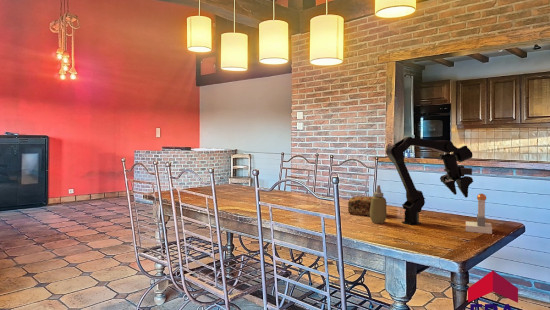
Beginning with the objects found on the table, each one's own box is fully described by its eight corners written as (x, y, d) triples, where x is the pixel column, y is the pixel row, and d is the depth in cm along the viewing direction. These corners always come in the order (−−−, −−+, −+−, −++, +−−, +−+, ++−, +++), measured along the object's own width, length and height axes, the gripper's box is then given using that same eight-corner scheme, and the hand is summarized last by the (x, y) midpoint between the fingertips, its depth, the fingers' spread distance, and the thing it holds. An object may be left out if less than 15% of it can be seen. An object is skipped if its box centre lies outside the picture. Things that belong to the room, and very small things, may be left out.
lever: (476, 224, 163) (477, 194, 163) (476, 222, 168) (477, 192, 167) (485, 225, 161) (486, 194, 161) (485, 223, 166) (486, 193, 165)
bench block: (465, 231, 163) (466, 216, 163) (465, 226, 172) (466, 212, 172) (491, 233, 158) (492, 218, 158) (490, 229, 167) (490, 214, 167)
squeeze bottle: (377, 224, 175) (378, 186, 174) (365, 221, 182) (366, 185, 181) (390, 223, 178) (390, 185, 178) (378, 219, 186) (378, 184, 185)
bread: (386, 214, 200) (387, 196, 199) (381, 218, 190) (382, 198, 190) (353, 211, 209) (353, 193, 209) (347, 214, 200) (347, 196, 199)
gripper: (478, 161, 170) (488, 192, 171) (455, 158, 188) (464, 187, 189) (456, 169, 169) (466, 201, 170) (435, 166, 188) (444, 195, 189)
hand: (460, 195), depth 179 cm, fingers open, 9 cm apart
